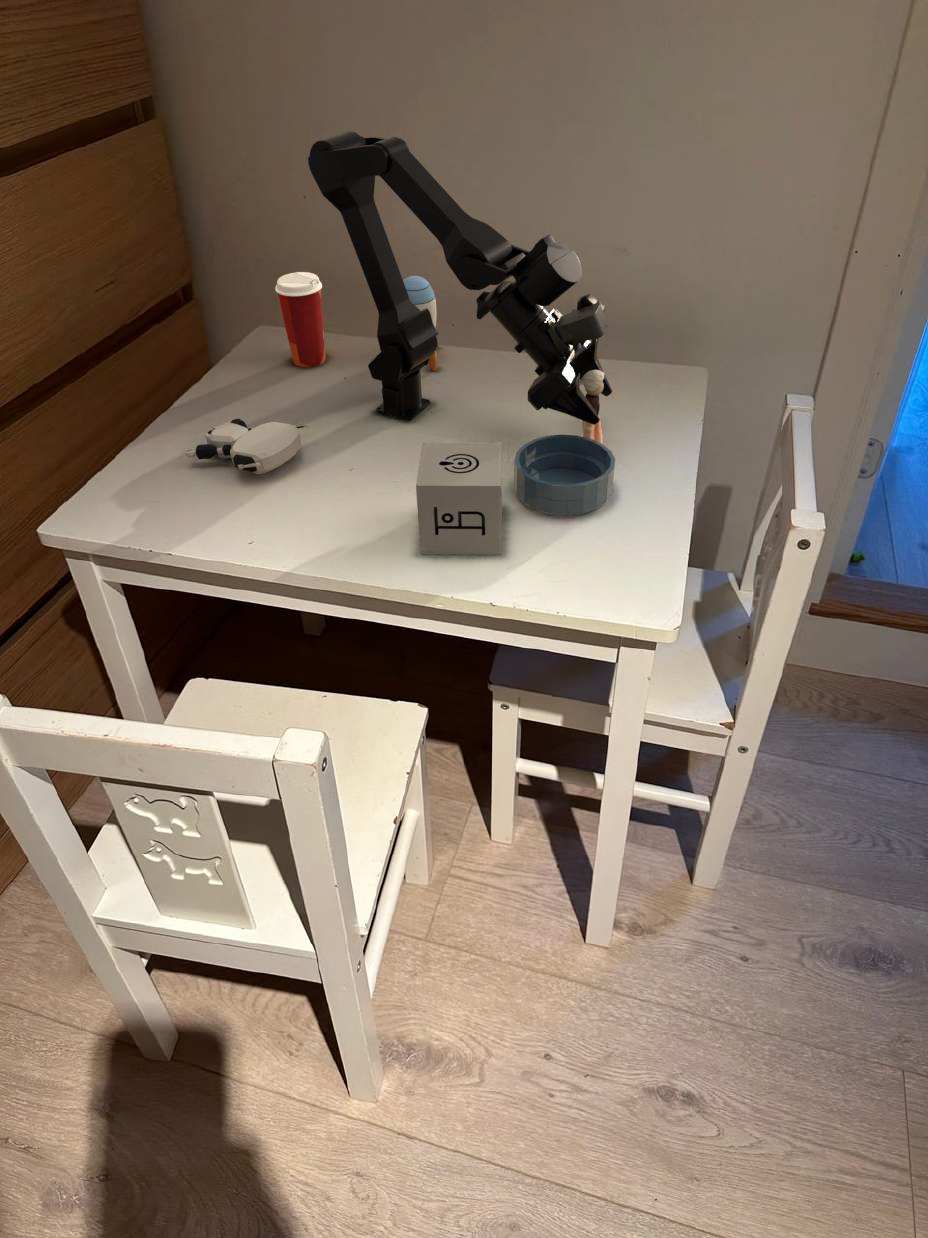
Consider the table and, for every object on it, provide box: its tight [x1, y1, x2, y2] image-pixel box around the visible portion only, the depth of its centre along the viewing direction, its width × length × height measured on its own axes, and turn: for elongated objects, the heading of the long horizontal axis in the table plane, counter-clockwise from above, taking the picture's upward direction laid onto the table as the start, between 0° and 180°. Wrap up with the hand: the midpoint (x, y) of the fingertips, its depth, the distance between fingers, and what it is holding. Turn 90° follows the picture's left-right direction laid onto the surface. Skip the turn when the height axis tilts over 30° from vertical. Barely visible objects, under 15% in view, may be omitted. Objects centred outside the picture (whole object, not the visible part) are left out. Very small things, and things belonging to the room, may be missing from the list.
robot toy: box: [185, 418, 311, 475], centre depth 128 cm, size 12×4×15 cm
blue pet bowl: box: [513, 434, 616, 516], centre depth 119 cm, size 13×13×5 cm
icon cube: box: [415, 442, 503, 556], centre depth 111 cm, size 10×10×10 cm
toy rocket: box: [403, 275, 438, 372], centre depth 149 cm, size 10×11×15 cm
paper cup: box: [274, 271, 326, 368], centre depth 150 cm, size 8×8×14 cm
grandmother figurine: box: [580, 370, 605, 445], centre depth 125 cm, size 8×4×13 cm, turn 5°
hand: (603, 407), depth 123 cm, fingers open, 8 cm apart
